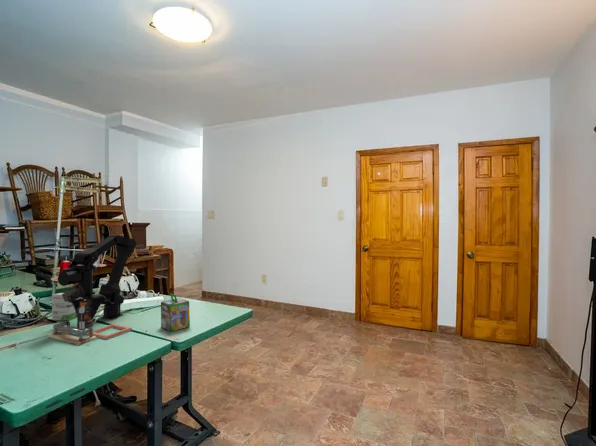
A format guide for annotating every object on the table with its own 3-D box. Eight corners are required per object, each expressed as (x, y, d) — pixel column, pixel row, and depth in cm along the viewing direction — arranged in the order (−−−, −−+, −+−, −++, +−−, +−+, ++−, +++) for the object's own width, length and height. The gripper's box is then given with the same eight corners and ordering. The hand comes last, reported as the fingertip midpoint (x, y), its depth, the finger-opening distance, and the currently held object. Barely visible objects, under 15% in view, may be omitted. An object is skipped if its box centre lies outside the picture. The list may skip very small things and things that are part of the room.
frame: (113, 326, 145) (113, 323, 145) (131, 330, 140) (131, 327, 140) (87, 335, 134) (87, 332, 134) (106, 339, 130) (106, 336, 130)
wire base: (68, 330, 139) (68, 328, 139) (98, 338, 131) (98, 335, 131) (48, 336, 132) (48, 334, 132) (79, 345, 124) (79, 342, 124)
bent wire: (68, 331, 138) (68, 320, 138) (96, 338, 131) (96, 326, 131) (52, 336, 133) (52, 324, 132) (80, 344, 125) (79, 331, 125)
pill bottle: (85, 330, 140) (85, 303, 140) (73, 328, 142) (73, 302, 141) (96, 325, 146) (96, 300, 146) (85, 324, 147) (85, 299, 147)
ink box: (76, 317, 157) (76, 292, 157) (68, 320, 152) (68, 295, 152) (60, 316, 158) (59, 292, 157) (51, 320, 153) (51, 294, 153)
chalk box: (190, 327, 145) (190, 293, 145) (170, 332, 138) (170, 297, 138) (180, 322, 151) (179, 290, 151) (160, 327, 145) (160, 293, 144)
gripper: (51, 282, 140) (52, 319, 140) (79, 287, 132) (80, 325, 133) (78, 278, 150) (78, 312, 150) (106, 281, 142) (106, 317, 143)
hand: (85, 316), depth 144 cm, fingers open, 9 cm apart
